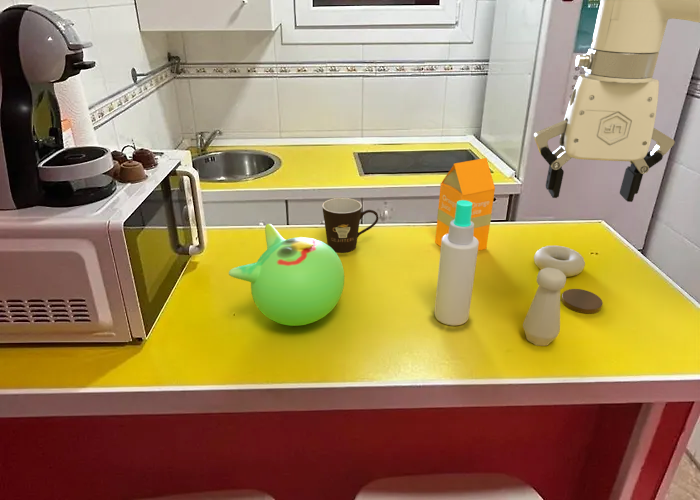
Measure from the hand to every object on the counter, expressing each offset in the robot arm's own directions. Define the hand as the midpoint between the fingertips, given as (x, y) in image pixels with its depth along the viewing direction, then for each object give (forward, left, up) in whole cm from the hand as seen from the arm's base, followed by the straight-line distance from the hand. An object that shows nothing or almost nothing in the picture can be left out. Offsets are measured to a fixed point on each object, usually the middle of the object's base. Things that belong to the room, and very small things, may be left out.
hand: (589, 196), depth 71 cm
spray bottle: (+18, -2, -27) cm, 33 cm away
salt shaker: (+3, -3, -27) cm, 28 cm away
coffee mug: (+47, -17, -27) cm, 57 cm away
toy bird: (+43, +10, -27) cm, 52 cm away
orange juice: (+25, -30, -27) cm, 47 cm away
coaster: (-2, -18, -27) cm, 33 cm away
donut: (+4, -30, -27) cm, 41 cm away
